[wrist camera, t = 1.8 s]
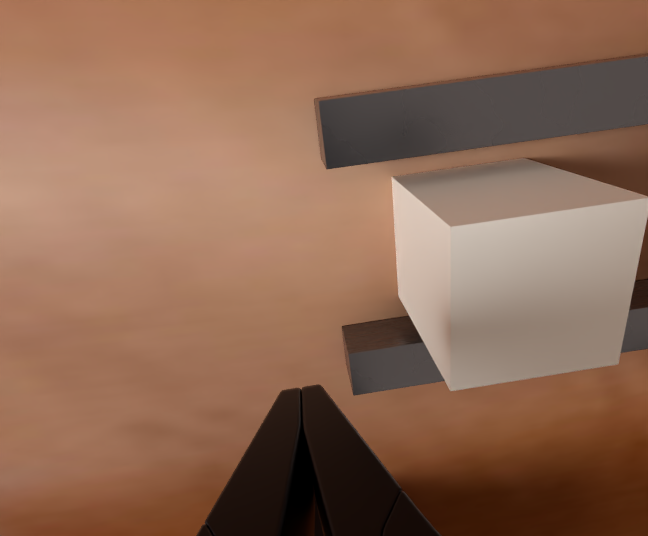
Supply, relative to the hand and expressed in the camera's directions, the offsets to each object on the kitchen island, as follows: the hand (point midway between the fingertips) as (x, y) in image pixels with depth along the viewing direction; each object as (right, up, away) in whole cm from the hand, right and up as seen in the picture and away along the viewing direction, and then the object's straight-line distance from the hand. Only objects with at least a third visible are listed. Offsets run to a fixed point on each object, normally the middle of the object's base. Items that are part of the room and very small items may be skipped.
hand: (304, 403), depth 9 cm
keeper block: (+6, +4, +8) cm, 11 cm away
